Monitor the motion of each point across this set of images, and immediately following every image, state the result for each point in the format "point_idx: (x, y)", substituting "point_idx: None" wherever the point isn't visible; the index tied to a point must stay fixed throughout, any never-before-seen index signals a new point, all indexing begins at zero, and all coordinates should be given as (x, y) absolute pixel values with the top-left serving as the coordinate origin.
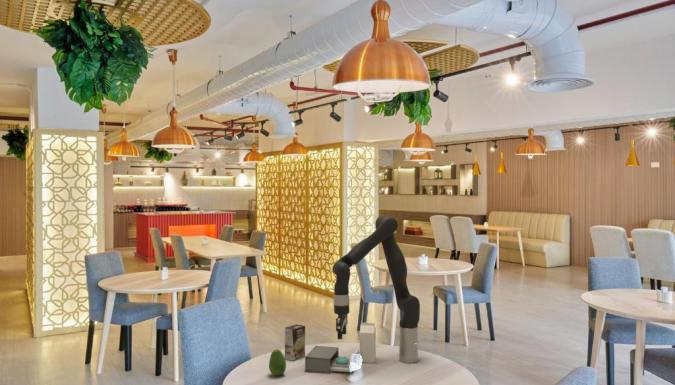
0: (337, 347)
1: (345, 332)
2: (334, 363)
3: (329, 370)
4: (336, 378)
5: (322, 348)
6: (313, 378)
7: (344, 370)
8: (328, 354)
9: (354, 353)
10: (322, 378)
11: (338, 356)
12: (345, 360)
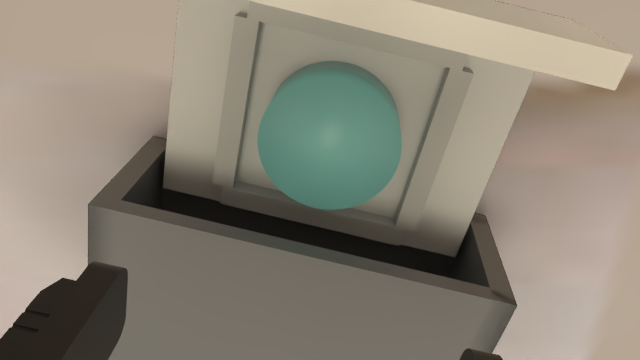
0: (89, 215)
1: (109, 298)
2: None
3: (491, 233)
4: (618, 162)
5: (159, 351)
6: (574, 325)
7: (517, 100)
8: (357, 309)
9: (296, 3)
10: (589, 268)
11: (137, 157)
12: (390, 108)
